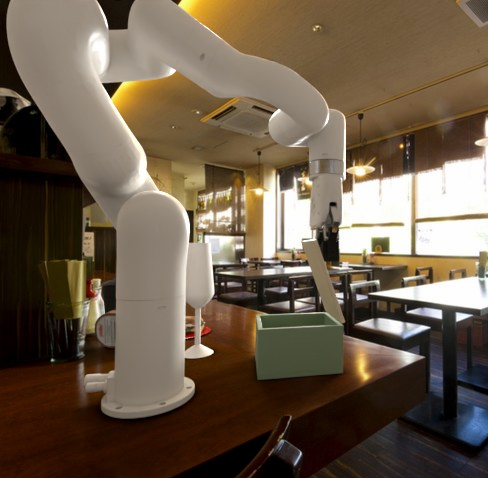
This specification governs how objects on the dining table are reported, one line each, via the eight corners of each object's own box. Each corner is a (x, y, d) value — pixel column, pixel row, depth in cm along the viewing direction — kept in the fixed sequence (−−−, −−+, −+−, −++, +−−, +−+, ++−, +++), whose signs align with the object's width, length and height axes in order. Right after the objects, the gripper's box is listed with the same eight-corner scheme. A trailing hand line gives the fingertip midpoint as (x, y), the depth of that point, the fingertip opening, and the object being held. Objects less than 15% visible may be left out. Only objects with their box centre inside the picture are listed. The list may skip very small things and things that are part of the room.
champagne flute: (173, 356, 69) (175, 242, 70) (194, 347, 76) (196, 243, 76) (200, 359, 67) (202, 242, 68) (219, 350, 74) (221, 243, 74)
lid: (312, 240, 60) (337, 231, 61) (301, 241, 72) (321, 234, 73) (341, 323, 61) (365, 313, 62) (325, 310, 73) (345, 302, 74)
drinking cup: (95, 340, 80) (96, 258, 81) (106, 332, 88) (107, 257, 88) (129, 338, 82) (131, 258, 83) (138, 330, 90) (139, 257, 90)
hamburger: (158, 328, 92) (159, 307, 92) (211, 325, 96) (211, 305, 97) (148, 342, 79) (149, 317, 79) (210, 338, 83) (210, 314, 83)
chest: (257, 380, 57) (258, 329, 57) (255, 356, 70) (255, 314, 70) (343, 373, 61) (343, 325, 61) (326, 351, 73) (326, 312, 73)
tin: (162, 347, 75) (163, 310, 76) (154, 351, 72) (155, 313, 72) (101, 344, 77) (102, 308, 77) (91, 348, 74) (92, 311, 74)
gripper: (301, 180, 75) (301, 259, 75) (318, 161, 58) (317, 262, 58) (333, 181, 77) (332, 259, 76) (358, 163, 60) (358, 262, 59)
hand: (326, 259), depth 67 cm, fingers closed on lid, 6 cm apart
